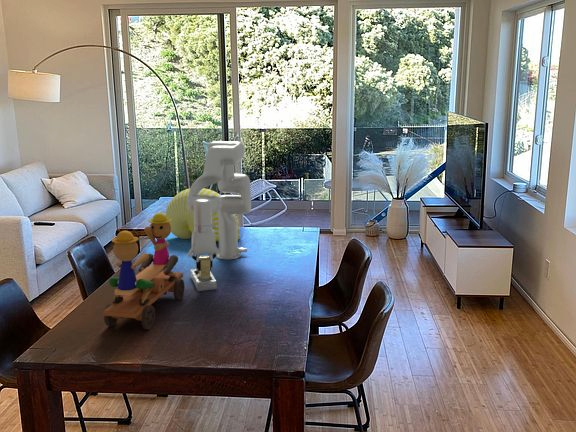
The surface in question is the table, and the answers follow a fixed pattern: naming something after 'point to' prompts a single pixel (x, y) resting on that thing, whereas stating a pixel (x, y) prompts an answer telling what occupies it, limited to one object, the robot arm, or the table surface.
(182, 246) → the table surface
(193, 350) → the table surface
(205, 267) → the brass block
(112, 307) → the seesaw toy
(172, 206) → the shell
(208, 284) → the grey block holder tray
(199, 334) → the table surface
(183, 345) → the table surface
